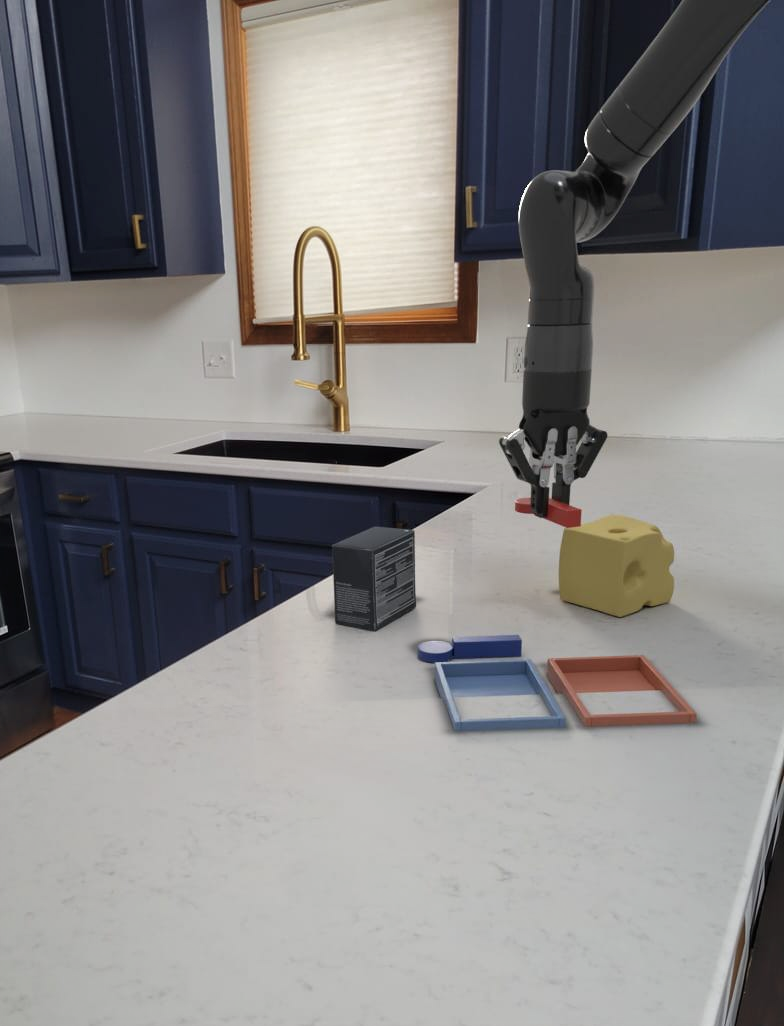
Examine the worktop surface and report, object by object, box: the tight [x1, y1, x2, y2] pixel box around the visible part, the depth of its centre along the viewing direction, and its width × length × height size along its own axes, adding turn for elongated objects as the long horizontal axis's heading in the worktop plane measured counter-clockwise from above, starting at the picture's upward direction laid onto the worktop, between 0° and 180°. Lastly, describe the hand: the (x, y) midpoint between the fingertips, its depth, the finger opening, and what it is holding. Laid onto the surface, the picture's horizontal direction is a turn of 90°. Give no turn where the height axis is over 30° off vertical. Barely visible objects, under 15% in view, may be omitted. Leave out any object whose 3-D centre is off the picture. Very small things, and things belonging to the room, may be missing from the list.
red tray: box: [546, 654, 697, 727], centre depth 95 cm, size 10×15×2 cm
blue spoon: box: [417, 634, 523, 664], centre depth 108 cm, size 12×4×2 cm, turn 90°
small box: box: [331, 525, 417, 632], centre depth 121 cm, size 11×6×10 cm, turn 145°
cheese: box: [558, 513, 675, 618], centre depth 123 cm, size 10×11×10 cm
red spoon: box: [514, 497, 583, 528], centre depth 115 cm, size 12×4×2 cm, turn 17°
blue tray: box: [434, 658, 567, 732], centre depth 95 cm, size 10×15×2 cm
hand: (549, 515), depth 115 cm, fingers closed on red spoon, 2 cm apart
